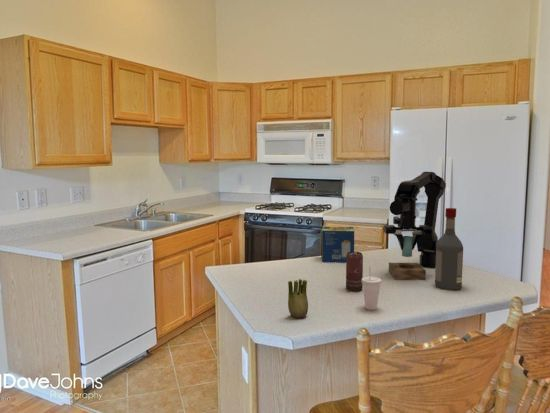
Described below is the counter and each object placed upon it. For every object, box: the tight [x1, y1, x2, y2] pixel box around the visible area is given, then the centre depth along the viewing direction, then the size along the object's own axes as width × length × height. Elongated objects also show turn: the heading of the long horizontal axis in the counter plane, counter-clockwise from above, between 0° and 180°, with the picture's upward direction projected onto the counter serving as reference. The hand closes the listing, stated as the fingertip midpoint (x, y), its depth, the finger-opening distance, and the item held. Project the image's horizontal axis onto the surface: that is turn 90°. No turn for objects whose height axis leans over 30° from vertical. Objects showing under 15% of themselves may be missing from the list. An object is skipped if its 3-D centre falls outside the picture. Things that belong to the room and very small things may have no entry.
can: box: [345, 250, 364, 293], centre depth 154 cm, size 6×6×14 cm
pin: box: [401, 235, 413, 258], centre depth 170 cm, size 4×4×8 cm
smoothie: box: [362, 266, 382, 311], centre depth 135 cm, size 6×6×14 cm
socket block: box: [388, 262, 427, 281], centre depth 171 cm, size 12×12×4 cm
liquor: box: [434, 207, 464, 291], centre depth 155 cm, size 9×9×30 cm
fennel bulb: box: [287, 278, 309, 319], centre depth 128 cm, size 6×5×12 cm
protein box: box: [321, 226, 355, 264], centre depth 197 cm, size 10×15×16 cm
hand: (407, 249), depth 170 cm, fingers closed on pin, 4 cm apart
